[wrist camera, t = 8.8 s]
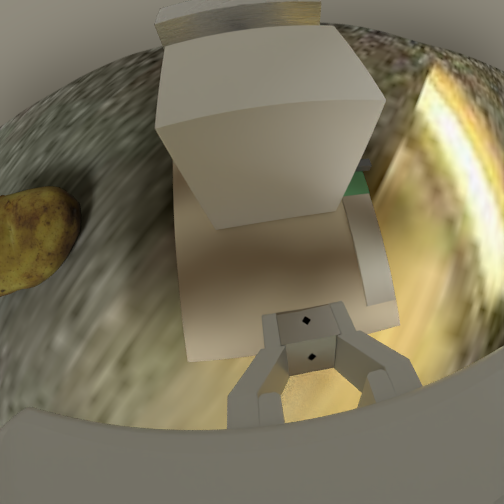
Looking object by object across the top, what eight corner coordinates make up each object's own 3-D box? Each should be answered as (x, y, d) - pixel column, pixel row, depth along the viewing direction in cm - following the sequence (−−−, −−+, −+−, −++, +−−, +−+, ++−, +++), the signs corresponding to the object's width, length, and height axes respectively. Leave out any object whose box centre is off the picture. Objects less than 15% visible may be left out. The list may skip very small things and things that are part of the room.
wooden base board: (390, 325, 15) (401, 325, 13) (195, 358, 15) (186, 362, 14) (313, 77, 20) (314, 63, 19) (179, 97, 21) (174, 84, 19)
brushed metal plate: (313, 86, 18) (321, 1, 11) (186, 105, 19) (154, 24, 11) (303, 66, 19) (306, -12, 11) (186, 83, 19) (159, 8, 12)
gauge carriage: (377, 205, 15) (449, 106, 7) (215, 230, 16) (154, 128, 7) (336, 100, 18) (354, -1, 9) (205, 116, 18) (171, 13, 9)
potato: (89, 303, 17) (4, 284, 9) (1, 304, 18) (-59, 290, 10) (96, 197, 19) (33, 144, 11) (10, 224, 20) (-43, 195, 12)
